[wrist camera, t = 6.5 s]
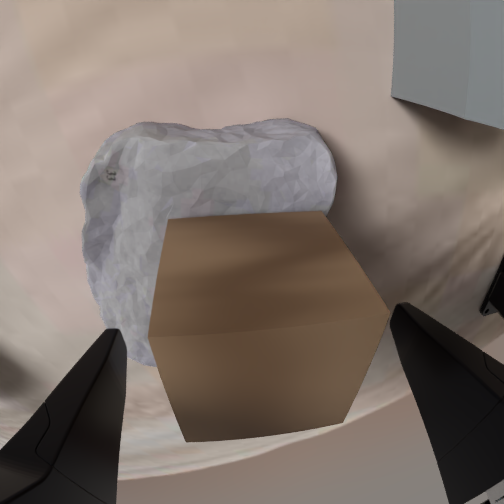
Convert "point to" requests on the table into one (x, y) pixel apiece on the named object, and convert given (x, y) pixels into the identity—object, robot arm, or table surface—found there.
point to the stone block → (186, 200)
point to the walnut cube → (261, 324)
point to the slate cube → (451, 57)
